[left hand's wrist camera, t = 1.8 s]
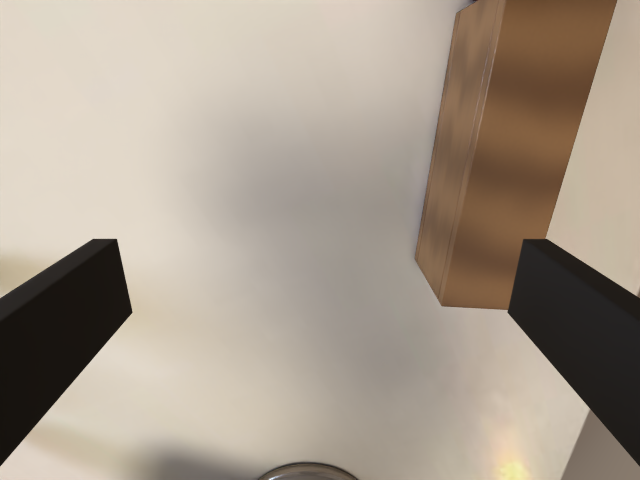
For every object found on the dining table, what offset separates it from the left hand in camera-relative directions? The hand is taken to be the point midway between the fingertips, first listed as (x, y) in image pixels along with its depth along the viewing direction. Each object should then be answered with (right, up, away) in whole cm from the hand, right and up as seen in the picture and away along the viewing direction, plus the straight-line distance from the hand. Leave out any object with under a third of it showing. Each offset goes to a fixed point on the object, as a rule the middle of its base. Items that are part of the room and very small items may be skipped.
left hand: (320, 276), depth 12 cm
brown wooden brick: (+12, +8, +18) cm, 23 cm away
